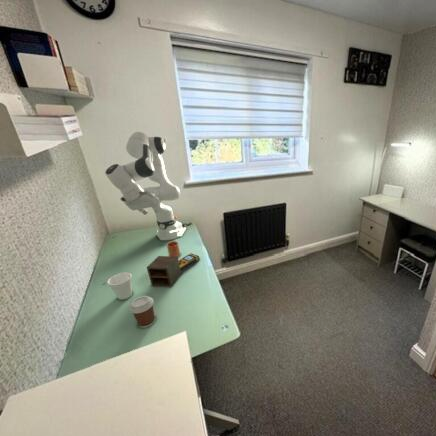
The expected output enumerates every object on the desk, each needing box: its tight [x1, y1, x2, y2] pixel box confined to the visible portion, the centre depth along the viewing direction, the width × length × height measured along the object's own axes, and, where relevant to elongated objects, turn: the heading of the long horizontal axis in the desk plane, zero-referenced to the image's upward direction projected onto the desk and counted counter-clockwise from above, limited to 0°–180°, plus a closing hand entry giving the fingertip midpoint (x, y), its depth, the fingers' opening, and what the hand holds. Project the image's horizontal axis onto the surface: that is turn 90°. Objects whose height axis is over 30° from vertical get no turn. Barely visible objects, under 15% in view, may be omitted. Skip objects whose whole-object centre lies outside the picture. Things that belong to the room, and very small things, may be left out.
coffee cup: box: [128, 295, 156, 329], centre depth 103 cm, size 9×9×12 cm
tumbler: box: [166, 241, 181, 258], centre depth 153 cm, size 6×6×9 cm
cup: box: [106, 271, 133, 300], centre depth 118 cm, size 10×10×11 cm
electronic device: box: [178, 252, 200, 272], centre depth 145 cm, size 8×16×3 cm, turn 154°
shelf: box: [146, 255, 182, 288], centre depth 130 cm, size 11×11×12 cm
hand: (152, 212), depth 134 cm, fingers open, 8 cm apart
